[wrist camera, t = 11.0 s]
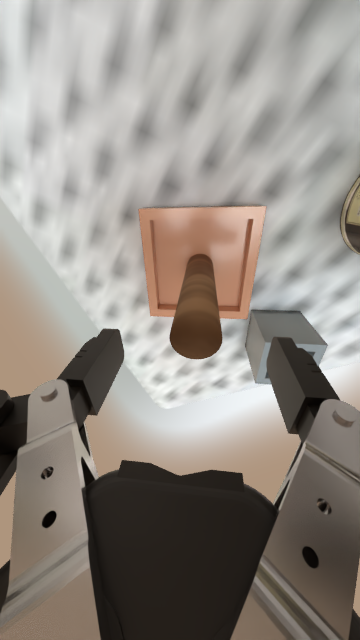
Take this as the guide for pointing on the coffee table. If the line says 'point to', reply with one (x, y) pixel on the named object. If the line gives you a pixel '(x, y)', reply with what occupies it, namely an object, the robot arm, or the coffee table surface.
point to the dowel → (197, 312)
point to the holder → (279, 325)
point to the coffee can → (352, 218)
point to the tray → (201, 238)
